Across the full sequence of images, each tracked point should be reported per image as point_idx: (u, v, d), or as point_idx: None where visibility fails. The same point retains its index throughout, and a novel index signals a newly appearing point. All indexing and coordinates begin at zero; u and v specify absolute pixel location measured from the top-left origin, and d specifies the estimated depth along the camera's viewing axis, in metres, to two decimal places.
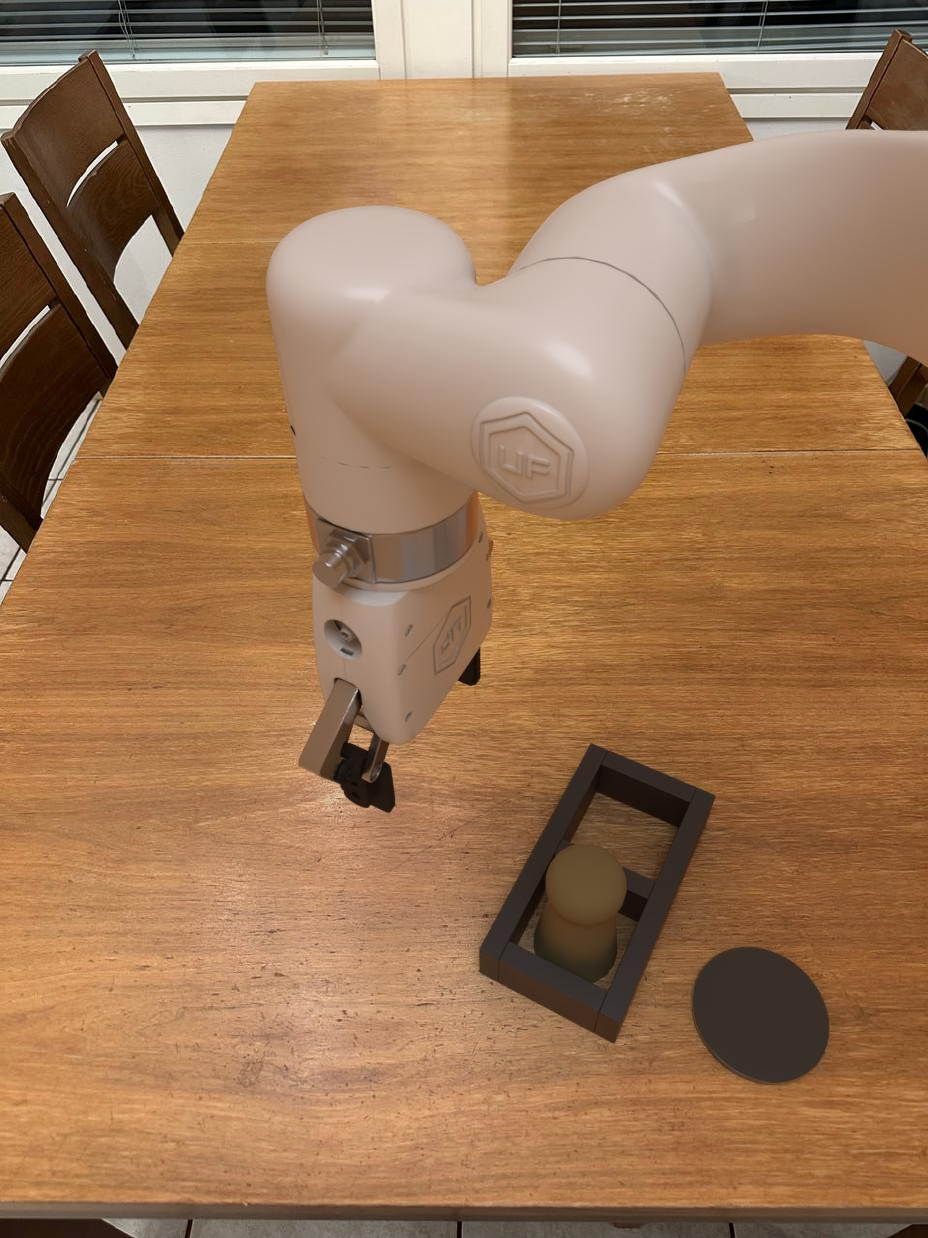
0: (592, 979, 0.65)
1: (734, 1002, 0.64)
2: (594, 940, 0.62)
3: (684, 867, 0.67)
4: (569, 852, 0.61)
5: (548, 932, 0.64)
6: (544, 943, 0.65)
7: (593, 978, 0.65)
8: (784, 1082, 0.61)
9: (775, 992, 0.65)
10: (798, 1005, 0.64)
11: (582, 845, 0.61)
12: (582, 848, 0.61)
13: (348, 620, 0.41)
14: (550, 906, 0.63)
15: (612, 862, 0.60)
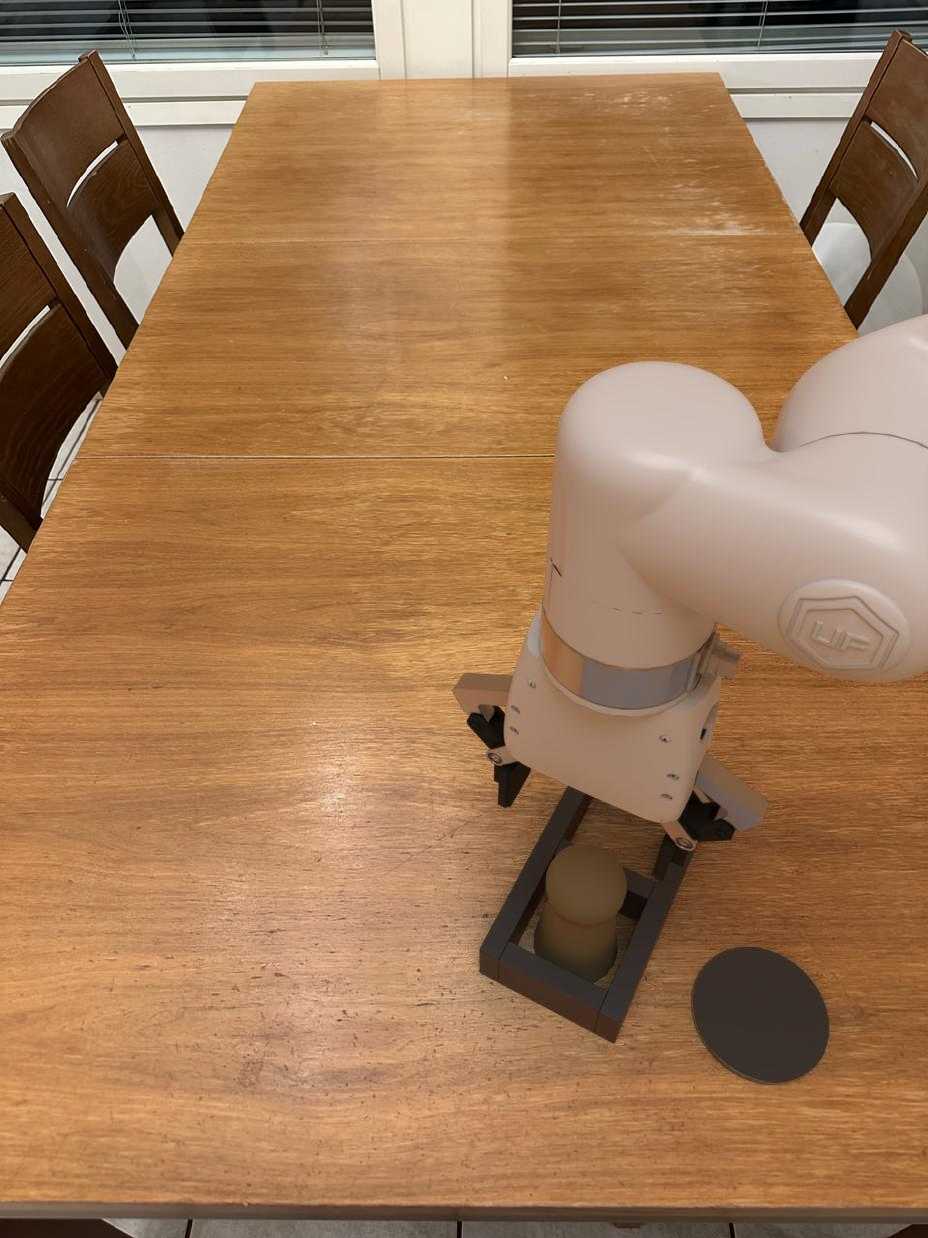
0: (592, 979, 0.65)
1: (734, 1002, 0.64)
2: (594, 940, 0.62)
3: (684, 867, 0.67)
4: (569, 852, 0.61)
5: (548, 932, 0.64)
6: (544, 942, 0.65)
7: (593, 978, 0.65)
8: (784, 1082, 0.61)
9: (775, 992, 0.65)
10: (798, 1005, 0.64)
11: (582, 845, 0.61)
12: (582, 848, 0.61)
13: (715, 698, 0.43)
14: (550, 906, 0.63)
15: (612, 862, 0.60)
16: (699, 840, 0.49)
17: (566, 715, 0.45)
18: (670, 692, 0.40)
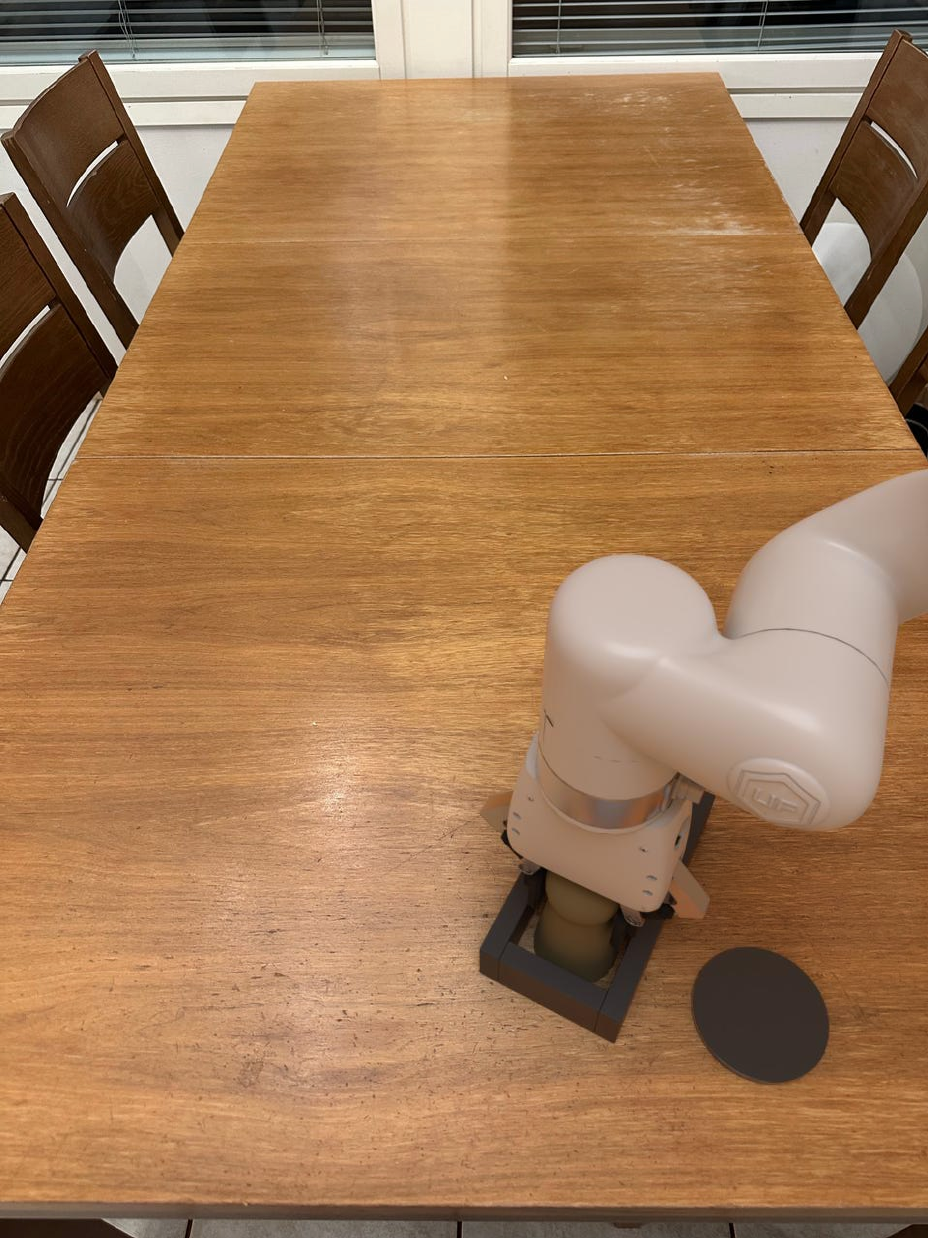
0: (592, 979, 0.65)
1: (734, 1002, 0.64)
2: (594, 940, 0.62)
3: None
4: None
5: (548, 932, 0.64)
6: (544, 943, 0.65)
7: (593, 978, 0.65)
8: (784, 1082, 0.61)
9: (775, 992, 0.65)
10: (798, 1005, 0.64)
11: None
12: None
13: (687, 813, 0.51)
14: (550, 906, 0.63)
15: None
16: (646, 918, 0.58)
17: (560, 825, 0.52)
18: (646, 815, 0.48)
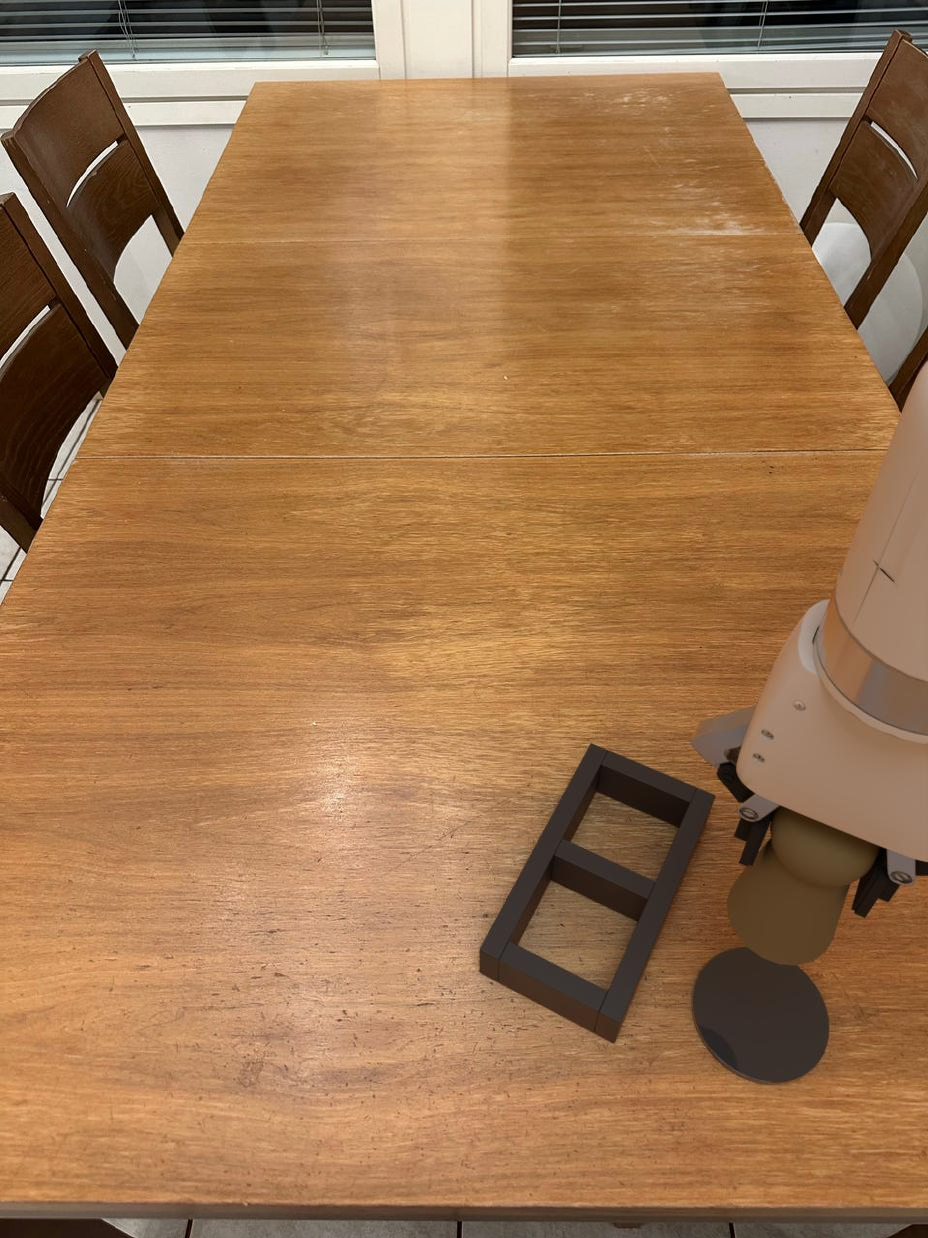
0: (811, 957, 0.52)
1: (734, 1002, 0.64)
2: (829, 906, 0.49)
3: (684, 867, 0.67)
4: None
5: (762, 897, 0.50)
6: (753, 911, 0.51)
7: (812, 956, 0.52)
8: (784, 1082, 0.61)
9: (775, 992, 0.65)
10: (798, 1005, 0.64)
11: None
12: None
13: None
14: (770, 863, 0.49)
15: None
16: (917, 874, 0.45)
17: (841, 742, 0.39)
18: None
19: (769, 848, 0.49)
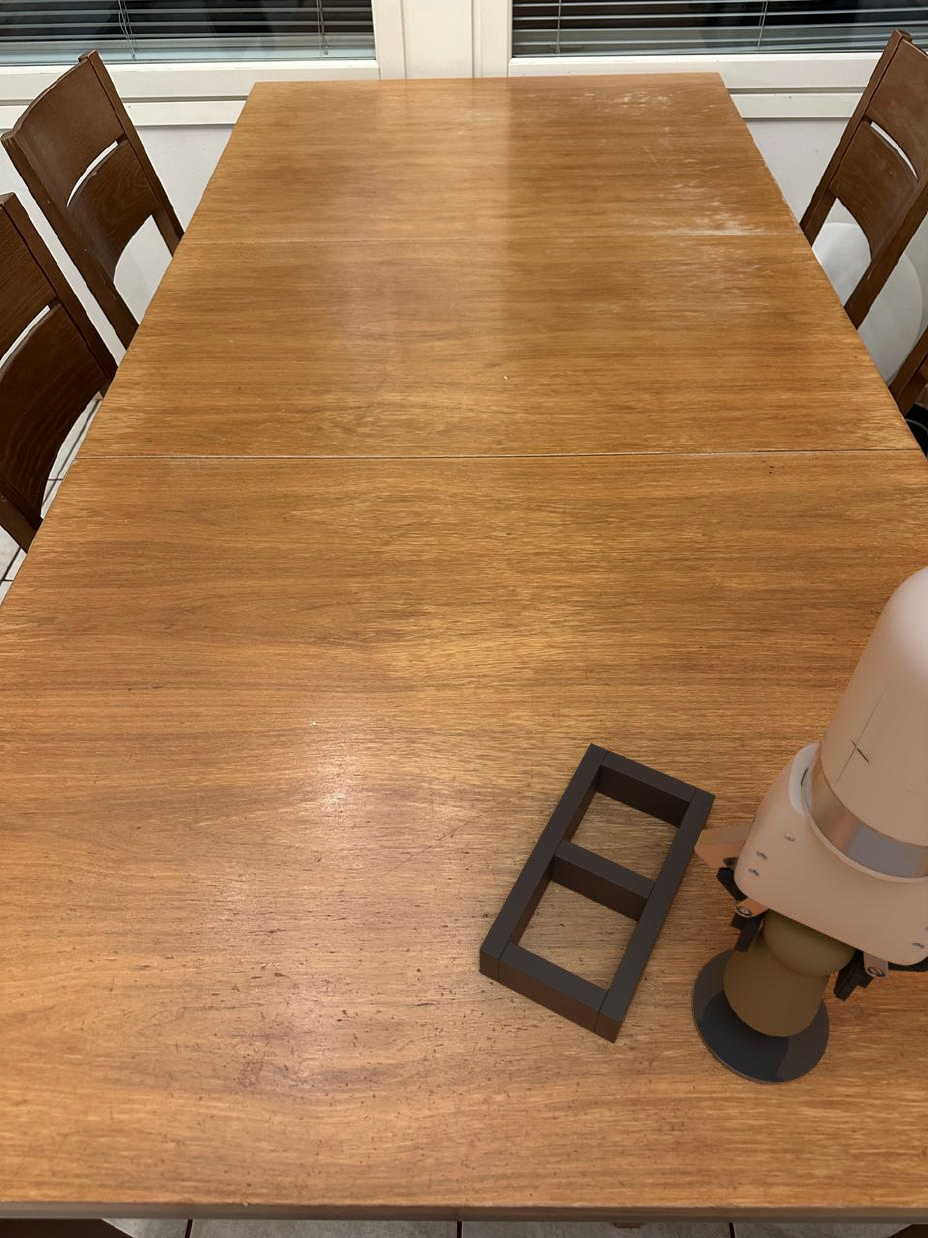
0: (797, 1030, 0.59)
1: None
2: (814, 989, 0.55)
3: (684, 867, 0.67)
4: None
5: (755, 979, 0.57)
6: (747, 989, 0.58)
7: (798, 1029, 0.59)
8: (784, 1082, 0.61)
9: None
10: None
11: None
12: None
13: None
14: (762, 951, 0.56)
15: None
16: (890, 969, 0.51)
17: (825, 869, 0.45)
18: None
19: (761, 937, 0.56)
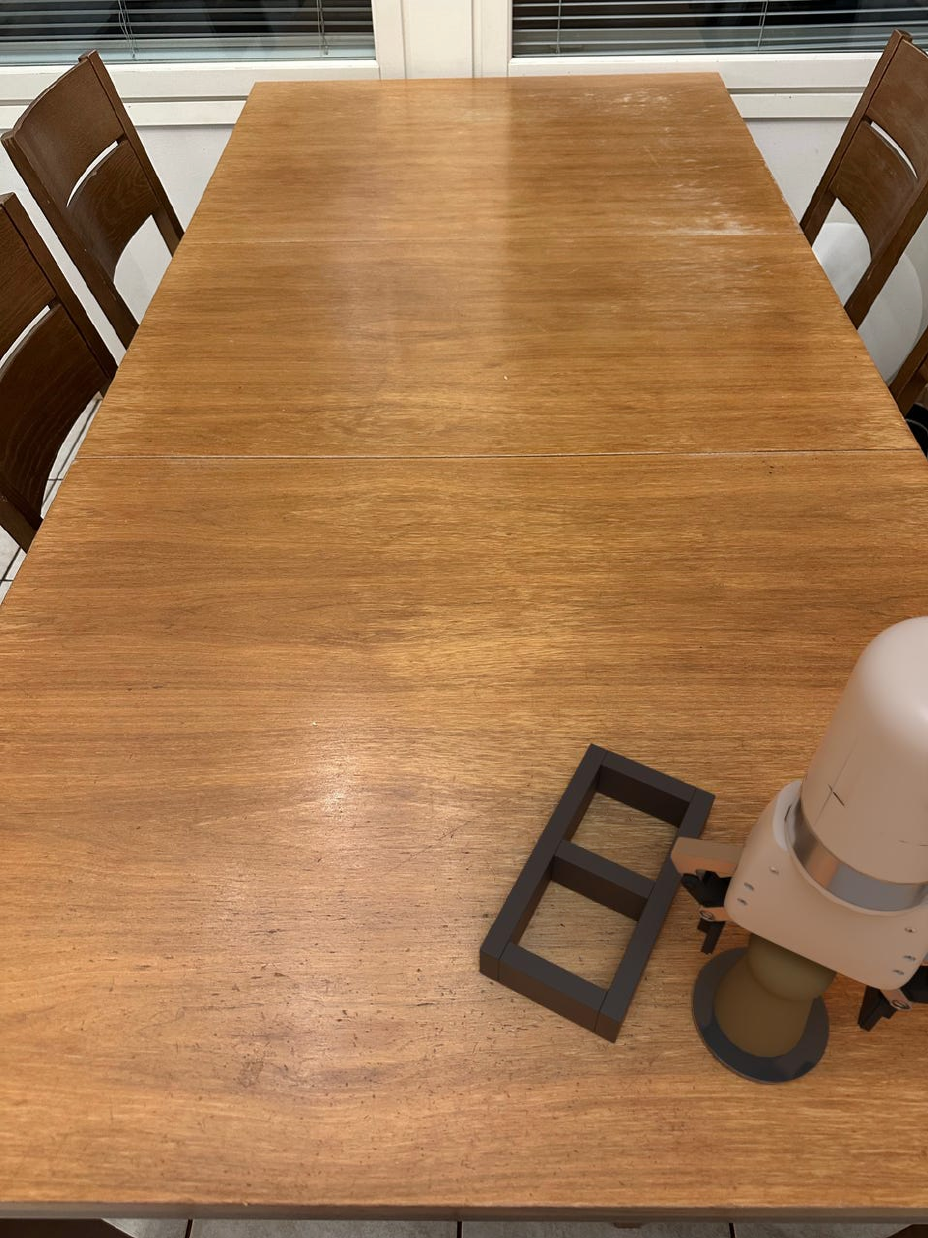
0: (783, 1051, 0.62)
1: None
2: (797, 1013, 0.58)
3: None
4: None
5: (742, 1003, 0.60)
6: (735, 1013, 0.61)
7: (784, 1050, 0.62)
8: (784, 1082, 0.61)
9: None
10: None
11: None
12: None
13: None
14: (747, 976, 0.59)
15: None
16: (914, 1001, 0.52)
17: (808, 900, 0.48)
18: (927, 896, 0.43)
19: (747, 963, 0.59)
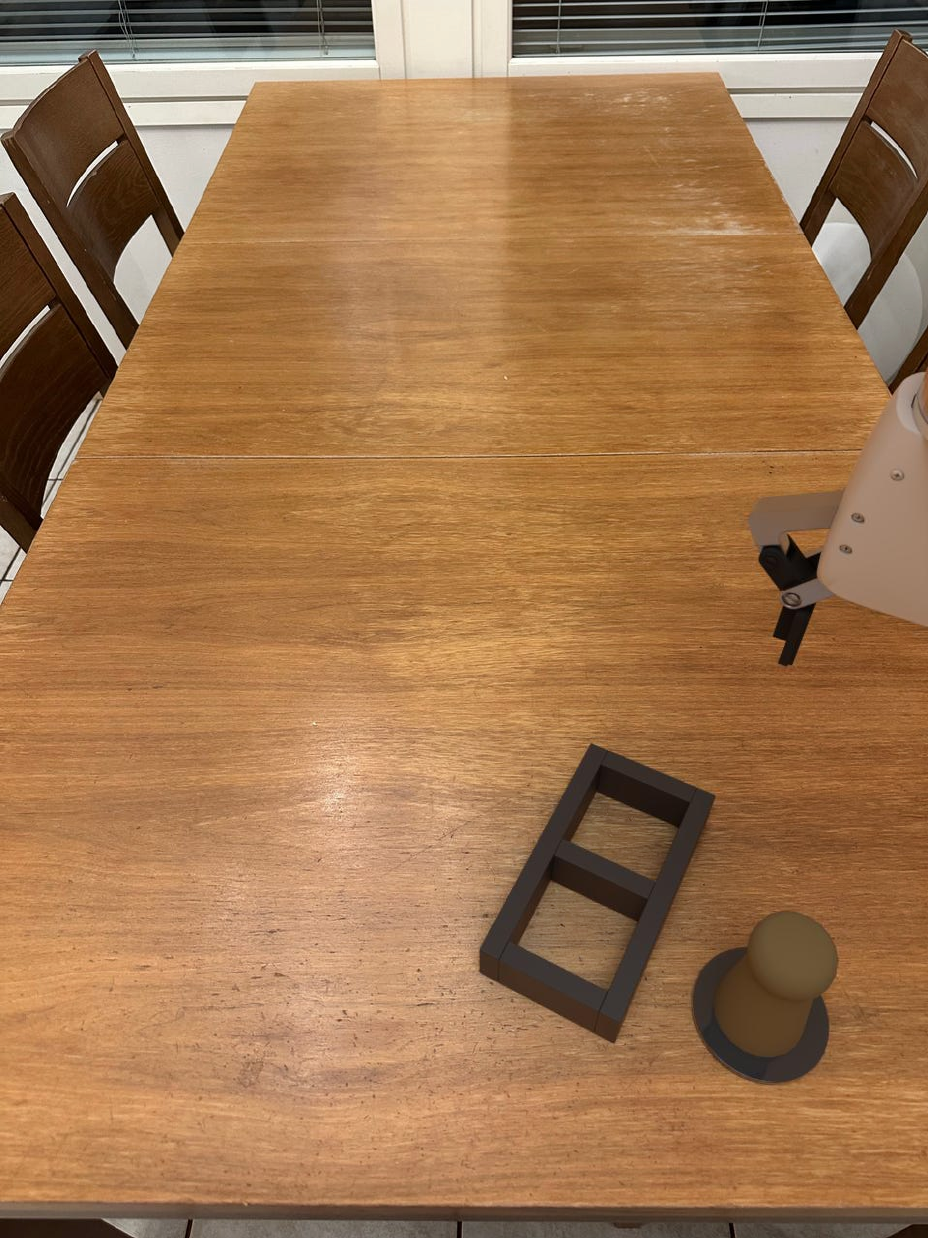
0: (783, 1051, 0.62)
1: None
2: (797, 1013, 0.58)
3: (684, 867, 0.67)
4: (775, 922, 0.57)
5: (742, 1003, 0.60)
6: (735, 1013, 0.61)
7: (784, 1050, 0.62)
8: (784, 1082, 0.61)
9: None
10: None
11: (787, 913, 0.57)
12: (788, 917, 0.57)
13: None
14: (747, 976, 0.59)
15: (822, 933, 0.56)
16: None
17: None
18: None
19: (747, 963, 0.59)
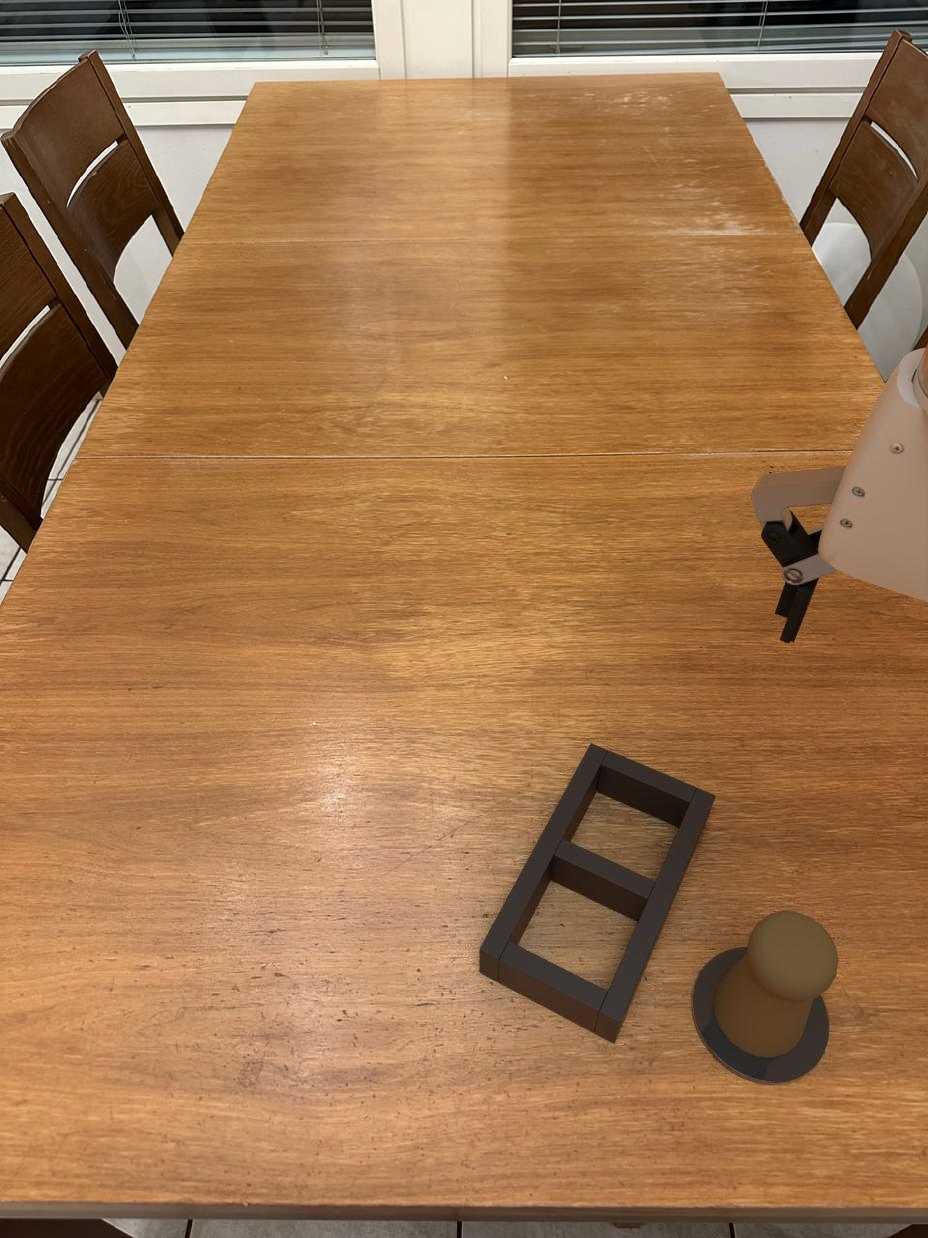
0: (783, 1051, 0.62)
1: None
2: (797, 1013, 0.58)
3: (684, 867, 0.67)
4: (775, 922, 0.57)
5: (742, 1003, 0.60)
6: (735, 1013, 0.61)
7: (784, 1050, 0.62)
8: (784, 1082, 0.61)
9: None
10: None
11: (787, 913, 0.57)
12: (788, 917, 0.57)
13: None
14: (747, 976, 0.59)
15: (822, 933, 0.56)
16: None
17: None
18: None
19: (747, 963, 0.59)
